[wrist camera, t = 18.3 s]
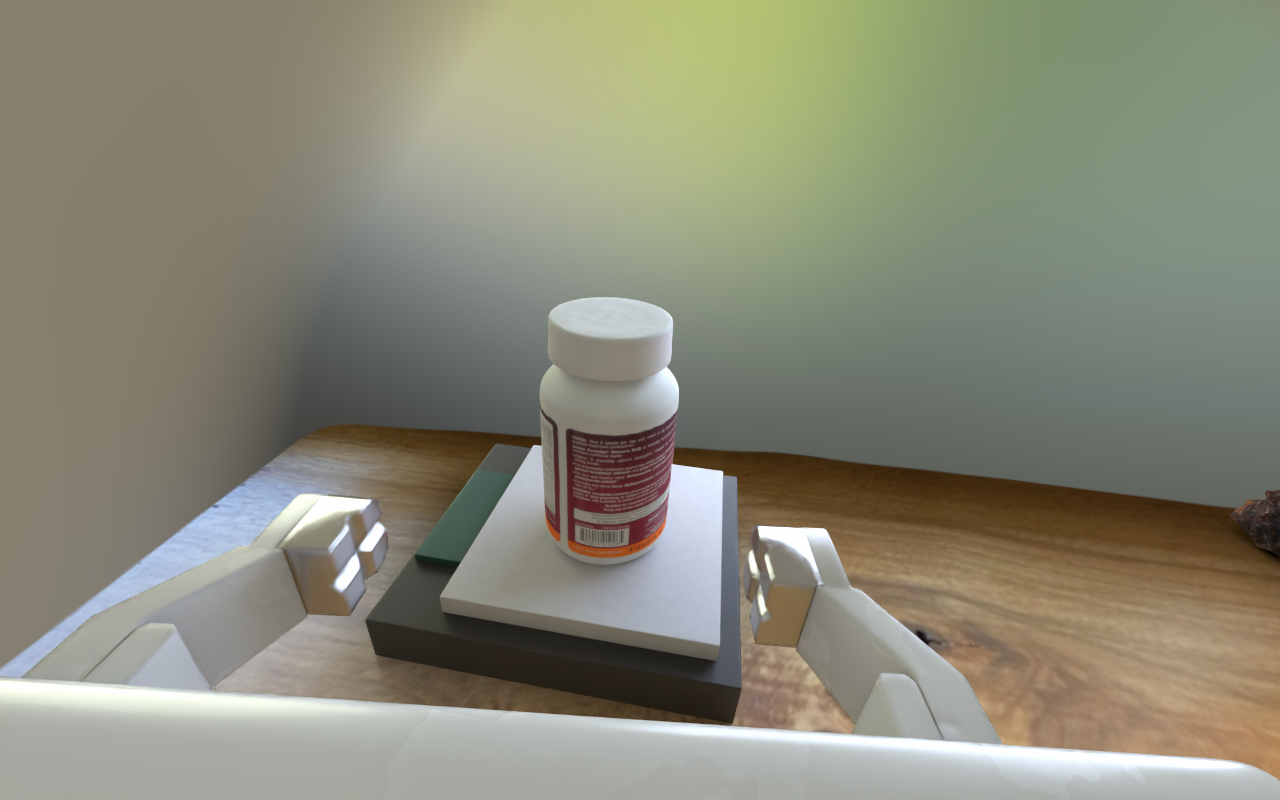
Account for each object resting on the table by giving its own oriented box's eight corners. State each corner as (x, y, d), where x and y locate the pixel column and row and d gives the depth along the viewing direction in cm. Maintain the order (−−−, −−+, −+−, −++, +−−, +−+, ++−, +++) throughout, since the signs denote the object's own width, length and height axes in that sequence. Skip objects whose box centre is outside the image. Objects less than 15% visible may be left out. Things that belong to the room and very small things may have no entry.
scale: (375, 655, 23) (359, 603, 21) (498, 472, 35) (494, 430, 33) (732, 724, 21) (745, 673, 19) (731, 506, 33) (739, 463, 32)
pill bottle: (688, 523, 27) (717, 318, 21) (607, 593, 22) (616, 359, 17) (604, 473, 30) (610, 285, 25) (519, 525, 26) (504, 311, 20)
